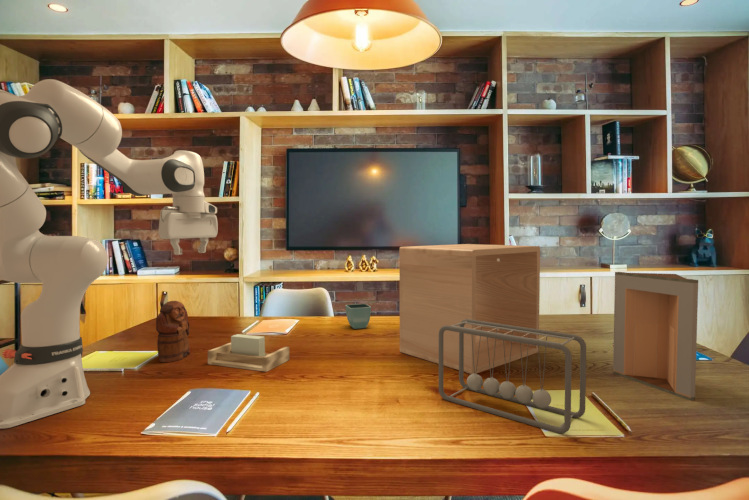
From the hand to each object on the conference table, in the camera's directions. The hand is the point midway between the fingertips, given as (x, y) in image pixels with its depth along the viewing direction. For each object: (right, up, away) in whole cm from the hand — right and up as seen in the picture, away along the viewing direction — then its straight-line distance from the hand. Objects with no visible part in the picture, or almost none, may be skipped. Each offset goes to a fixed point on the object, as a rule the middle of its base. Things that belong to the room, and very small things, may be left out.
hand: (190, 253), depth 132 cm
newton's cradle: (+84, -35, -33) cm, 97 cm away
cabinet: (+129, -33, -18) cm, 134 cm away
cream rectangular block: (+16, -32, +3) cm, 36 cm away
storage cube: (+85, -32, +12) cm, 92 cm away
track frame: (+17, -33, +3) cm, 37 cm away
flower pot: (+48, -31, +49) cm, 75 cm away
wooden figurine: (-8, -33, +8) cm, 35 cm away
